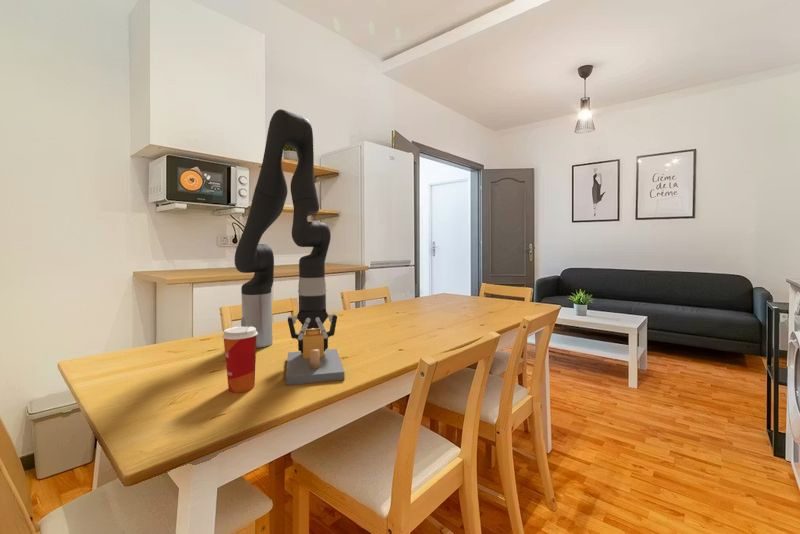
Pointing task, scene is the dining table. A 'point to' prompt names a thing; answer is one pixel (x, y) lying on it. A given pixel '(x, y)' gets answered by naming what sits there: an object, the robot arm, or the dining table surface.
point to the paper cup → (240, 357)
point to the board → (313, 374)
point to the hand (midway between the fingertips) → (313, 351)
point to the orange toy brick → (313, 342)
